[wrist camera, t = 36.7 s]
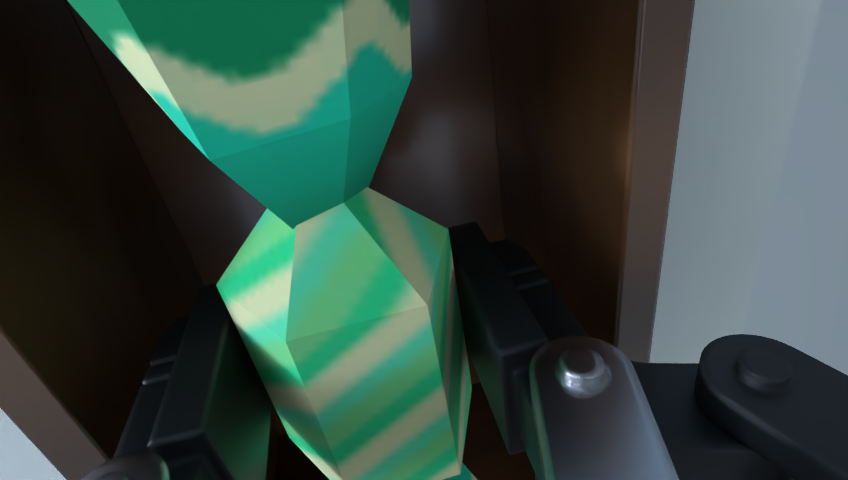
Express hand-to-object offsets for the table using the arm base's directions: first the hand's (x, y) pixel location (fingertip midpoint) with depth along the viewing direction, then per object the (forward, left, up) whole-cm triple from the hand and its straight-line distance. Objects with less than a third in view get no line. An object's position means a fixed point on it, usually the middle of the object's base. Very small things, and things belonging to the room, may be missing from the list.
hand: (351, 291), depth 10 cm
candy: (0, 0, 0) cm, 0 cm away
